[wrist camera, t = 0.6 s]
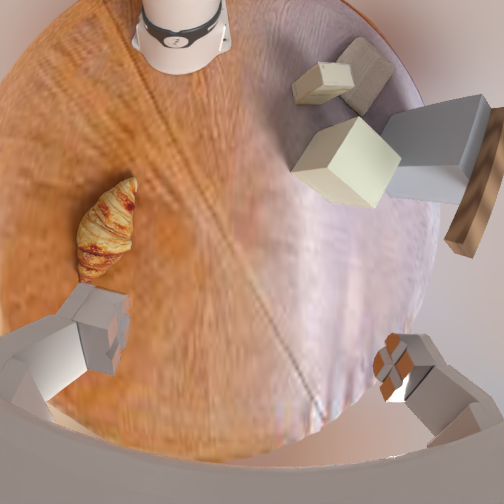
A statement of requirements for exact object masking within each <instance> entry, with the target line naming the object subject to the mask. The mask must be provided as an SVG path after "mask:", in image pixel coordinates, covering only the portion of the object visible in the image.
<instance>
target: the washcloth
mask: <svg viewBox="0 0 504 504" xmlns="http://www.w3.org/2000/svg"><path fill="white" fill-rule="evenodd" d="M334 63H340V64H348V65H350V67H351V71H352V76H353V81H354V86H355V87H353V88H351V89H349V90H348V91H346V92H344V93H342V94H340V95H339V96H341V98H343V99H344V101H345V102H346V103H347V104H348V105H349V106H350V107H351V108H353V109H354V110H355V111H356V112H357V113H358V114H359V115H361V116H364V115H365V113H367V111H368V110H369V108H370V107H371V105H372V104H373V102H374V101H375V99H376V97H377V96H378V94H379V93H380V92H381V90H382V88H383V87H384V86H385V84H386V82H387V81H388V79H389V78H390V77H391V76H392V74H393V72H394V70H395V69H394V67H393V65H392V63H391V62H389V61H388V60H387V59H385V58H384V57H383V56H382V54H381V53H380V52H378V51H377V50H376V49H375V47H374V46H373V45H372V44H370V43H369V42H368V41H367V40H366V39H365V38H364V37H358V38H355V39H354V40H353V42H352V43H351V44H350V45H348V47H347V48H346V49H345V50H344V51H343V52H342V54H341V55H340V56H339V57H338V58H337V60H336V61H335V62H334Z"/></svg>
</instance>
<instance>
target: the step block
mask: <svg viewBox="0 0 504 504" xmlns="http://www.w3.org/2000/svg"><path fill="white" fill-rule="evenodd" d="M401 159H402V158H401V157H400V156H399V155H398V154H397V153H396V152H395V151H394V150H393V149H392V148H391V147H390V146H389V145H388V144H387V143H386V142H385V141H384V140H383V139H382V138H381V137H380V136H379V135H378V134H377V133H376V132H375V131H374V130H373V129H372V128H371V127H370V126H369V125H368V124H367V123H366V122H365V121H363V120H362V119H361V118H360V117H359V116H358V117H355V118H353V119H350V120H347V121H344V122H341V123H339V124H336V125H333V126H331V127H328V128H325V129H323V130H320V131H318V132H317V133H316V134H315V136H314V137H313V139H312V140H311V142H310V143H309V145H308V146H307V148H306V149H305V151H304V152H303V154H302V156H301V157H300V159H299V160H298V162H297V163H296V165H295V166H294V168H293V169H292V171H291V172H290V173H292V174H293V175H294V176H296V177H297V178H298V179H300V180H301V181H302V182H304V183H305V184H306V185H308V186H309V187H310V188H312V189H313V190H314V191H315V192H317V193H318V194H319V195H321V196H322V197H323V198H324V199H326V200H327V201H328V202H330V203H335V204H343V205H351V206H358V207H366V208H373V209H375V207H376V205H377V203H378V202H379V200H380V198H381V196H382V194H383V193H384V191H385V189H386V187H387V185H388V184H389V182H390V180H391V178H392V176H393V174H394V172H395V170H396V168H397V167H398V165H399V163H400V161H401Z"/></svg>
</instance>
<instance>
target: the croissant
mask: <svg viewBox="0 0 504 504" xmlns="http://www.w3.org/2000/svg"><path fill="white" fill-rule="evenodd" d="M136 191H137V180H136V178H134V177H130V178H128V179H125V180H124V181H121V182H120V183H118V184H117V185H116V186H115V187H113V188H112V189H111V190H109V191H106V192H105V193H103V194H102V195H101V196H100V198H99V200H98V202H97V203H96V204H95V205H94V206H93V207H92V208H90V210H88V211H87V212H86V214H85V215H84V216H83V218H82V220H81V222H80V225H79V228H78V232H77V239H76V242H77V246H78V250H77V257H78V259H79V264H78V266H77V271H78V275H79V283H81V282H84V283H88V284H90V283H91V282H92V280H93V279H94V278H96V277H99V276H101V275H103V274H104V273H105V272H106V270H107V269H109V268H110V267H111V265H112V264H114V263H116V262H117V261H118V260H119V259H120V258H121V256H122V255H123V253H125V252H127V251H129V250H130V249H131V245H132V242H131V238H130V237H131V236H132V233H133V230H134V227H133V224H132V215H133V212H134V209H135V194H136Z"/></svg>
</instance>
